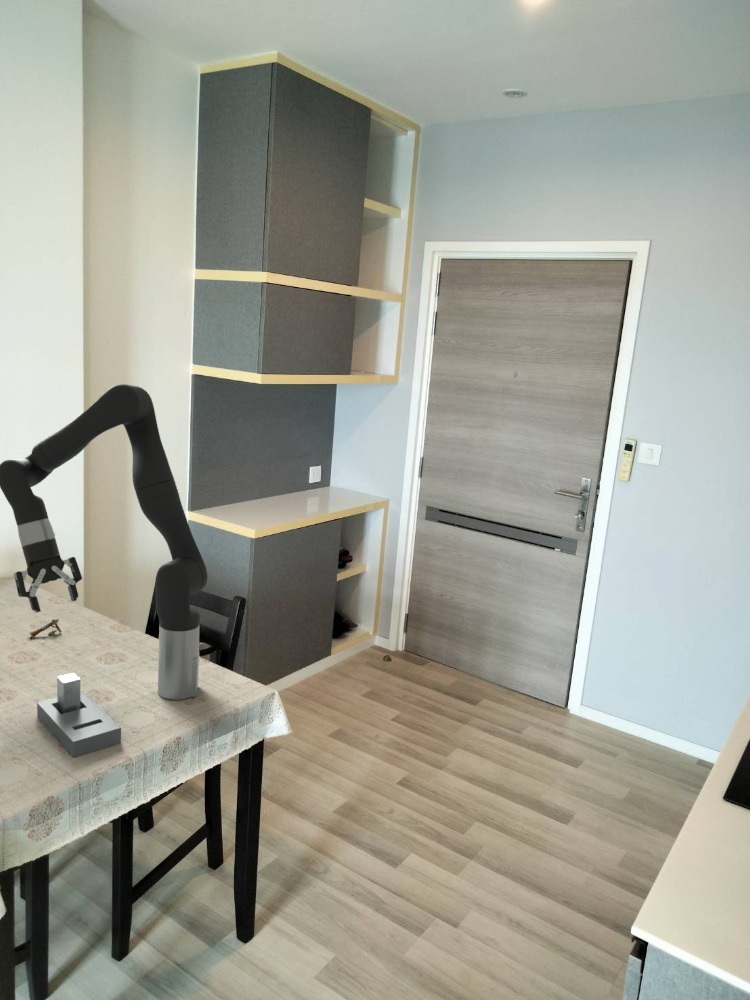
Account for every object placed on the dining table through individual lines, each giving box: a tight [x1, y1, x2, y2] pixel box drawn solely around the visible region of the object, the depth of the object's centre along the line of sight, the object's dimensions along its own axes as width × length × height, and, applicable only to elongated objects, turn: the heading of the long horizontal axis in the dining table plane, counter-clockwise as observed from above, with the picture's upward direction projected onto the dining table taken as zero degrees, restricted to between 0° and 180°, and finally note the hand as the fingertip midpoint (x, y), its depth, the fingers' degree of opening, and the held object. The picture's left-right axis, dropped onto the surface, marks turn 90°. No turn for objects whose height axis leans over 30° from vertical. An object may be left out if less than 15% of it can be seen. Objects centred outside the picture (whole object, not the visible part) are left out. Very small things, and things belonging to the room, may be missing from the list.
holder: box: [36, 690, 122, 758], centre depth 162 cm, size 20×10×4 cm, turn 43°
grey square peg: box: [56, 672, 81, 714], centre depth 165 cm, size 4×4×10 cm
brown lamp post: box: [28, 618, 62, 640], centre depth 209 cm, size 2×8×4 cm, turn 126°
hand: (56, 606), depth 180 cm, fingers open, 8 cm apart
